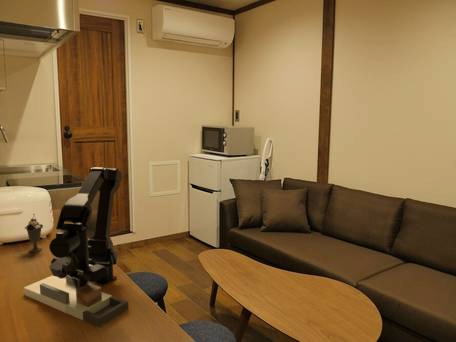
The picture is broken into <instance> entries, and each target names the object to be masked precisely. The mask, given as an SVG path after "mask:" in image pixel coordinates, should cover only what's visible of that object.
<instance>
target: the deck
mask: <svg viewBox="0 0 456 342" xmlns="http://www.w3.org/2000/svg"><path fill="white" fill-rule="evenodd" d="M42 283H44V284H47V285H50V286H52V287H55V288H57V289H60V290H62V291H65V292H67V293H69V301H70V303H68V304H64V303H61V302H59V301H57V300H54V299H52V298H49V297H47V296H45V295H42V294H40V284H42ZM101 293H102V300H101V301H99V302H97V303H95V304H93V305H91V306H90V307H86V306H84V305H81V304H79V303H77V301H76V288H75V285H73V284H70V283H67V282H66V277H65V278H62V279H60V278H59V277H56V276H53V274H52V275H50V276H48V277H46V278H42V279H41V280H38V281H36V282H34V283H30V284H29V285H26V286H24V287H23V295H24V296H26V297H28V298H30V299H32V300H35V301H37V302H40V303H42V304H45V305H47V306H49V307H50V308H54V309H56V310H58V311H61V312H63V313H65V314H67V315H70V316H72V317H74V318H77V319H79V320H81V321H83V312H84V311H86V310H87V311H89V312H91V313H95V312H97V311H99V310H100V309H102V308H104V307H106V306H107V305H109V304H110V300H109V297H111V296H112V295H111V294H108V293H106V292H103V291H101Z"/></svg>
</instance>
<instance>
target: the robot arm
mask: <svg viewBox="0 0 456 342" xmlns="http://www.w3.org/2000/svg"><path fill="white" fill-rule="evenodd" d="M122 179H123V173H122V171H120V169H119V168H116V167H115V168H114V167H103V166H101V167H99V166H97V167H96V166H94V167H91V168H90V169H89V171H88V175H87V177H86V179H85V180H84V182H83V184H82V185H81V186H80V189H79V190H78V192H77V193H76V195H74V196H72V197H70V198H69V199H68V200H67V201H66V202H65V203H64V205H63V206H62V207H61V210H60V212H59V215H58V221H57V224H56V227H55V229H56V230H58V231H57V232H56V233H55V237H54V238H53V239H51V241H50V243H49V248H48V249H49V251H50V253H51V254H52V256H53V258H52V260H51V261H50V265H49V266H48V268H49V269H50V271H51V274H52V275H53V276H56V277H59V278H60V279H62V278H65V279H66V276H69V277H71V279H72V281H73V283H74V285H75V288H76V290H77V289H79V288H81V287H83V286H85V285H86V284H87V282H88V281H89V282H94V284H97V285H100V286H105V285H106V284H108V283H110V282H113V281H115V280H117V276H115V275H114V265H117V263H118V254H117V252H116V251H115V249H114V243H113V241H112V238H111V237H110V232H111V224H112V213H113V207H114V205H113V204H114V196H115V194H116V192H117V191H118V190H119V188H120V186H121V181H122ZM98 192H99V195H98V205H97V210H96V211H97V213H96V219H95V220H96V221H95V227H94V235H93V236H92V237H91V238H90V239H89V234H88V233H89V232H88V231H89V230H88V227H90V221H91V217H92V213H93V208H92V203H93V202H94V200H95V198H96V195H97V194H98Z"/></svg>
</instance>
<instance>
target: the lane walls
mask: <svg viewBox="0 0 456 342" xmlns="http://www.w3.org/2000/svg"><path fill="white" fill-rule="evenodd" d="M65 279H66V282H67V283H70V284H73V285H74V283H73V281H72V279H71V277H69V276H66V277H65ZM89 283H91V284H93V285H95V283H94V282H89V281H88V282H87V284H89ZM87 284H86V285H87ZM40 294H42V295H45V296H47V297H49V298H52V299H54V300H57V301H59V302H61V303H64V304H68V303H70V301H69V293H67V292H65V291H62V290H60V289H57V288H55V287H52V286H50V285H47V284H44V283H42V284H40Z"/></svg>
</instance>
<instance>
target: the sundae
mask: <svg viewBox="0 0 456 342" xmlns="http://www.w3.org/2000/svg"><path fill="white" fill-rule="evenodd" d="M24 229H25V230H26V232H27V236H28V237H27V238H28V239H29V241H30V242H32V243H33V248H30V249H29V250H28V252H29V253H38V252H41V251H43V248H42V247H38V244H37V243H38V242H39V241H40V239H41V236H42V235H41V234H42V229H44V225H43V224H42V223H41V224H40V222H39V221H38V220H37V218H36V215H35V213H33V217H32V218H30V220H29V222H28V224H27V225H26V226H25V227H24Z"/></svg>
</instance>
